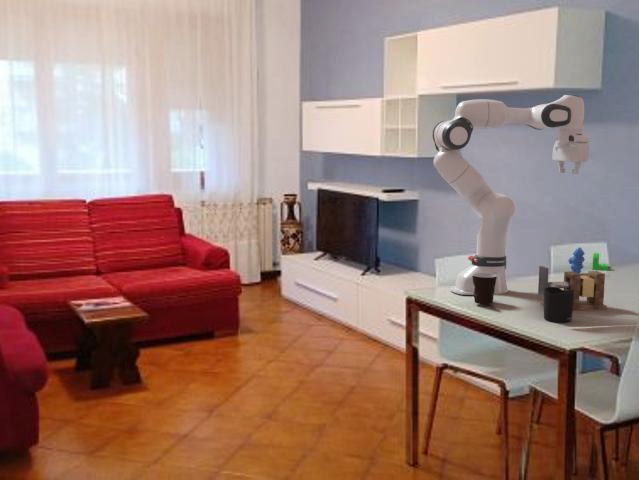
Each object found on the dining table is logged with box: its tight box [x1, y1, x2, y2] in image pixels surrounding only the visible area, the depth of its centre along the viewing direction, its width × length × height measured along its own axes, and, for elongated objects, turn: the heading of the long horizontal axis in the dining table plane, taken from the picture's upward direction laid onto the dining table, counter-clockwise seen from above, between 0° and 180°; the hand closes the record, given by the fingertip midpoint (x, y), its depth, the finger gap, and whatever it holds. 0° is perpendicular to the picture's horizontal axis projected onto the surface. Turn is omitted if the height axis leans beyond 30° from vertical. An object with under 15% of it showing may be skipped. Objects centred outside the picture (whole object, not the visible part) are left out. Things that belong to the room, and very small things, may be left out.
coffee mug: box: [472, 273, 497, 305], centre depth 261 cm, size 12×9×10 cm
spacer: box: [579, 275, 594, 298], centre depth 253 cm, size 4×6×6 cm, turn 7°
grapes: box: [567, 247, 586, 274], centre depth 316 cm, size 12×7×12 cm, turn 142°
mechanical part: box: [591, 252, 610, 272], centre depth 330 cm, size 12×6×8 cm, turn 153°
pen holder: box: [543, 287, 574, 324], centre depth 234 cm, size 9×9×10 cm
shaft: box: [537, 265, 581, 299], centre depth 252 cm, size 20×5×10 cm, turn 97°
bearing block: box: [540, 270, 608, 311], centre depth 253 cm, size 20×9×12 cm, turn 97°
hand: (568, 173), depth 280 cm, fingers open, 8 cm apart
